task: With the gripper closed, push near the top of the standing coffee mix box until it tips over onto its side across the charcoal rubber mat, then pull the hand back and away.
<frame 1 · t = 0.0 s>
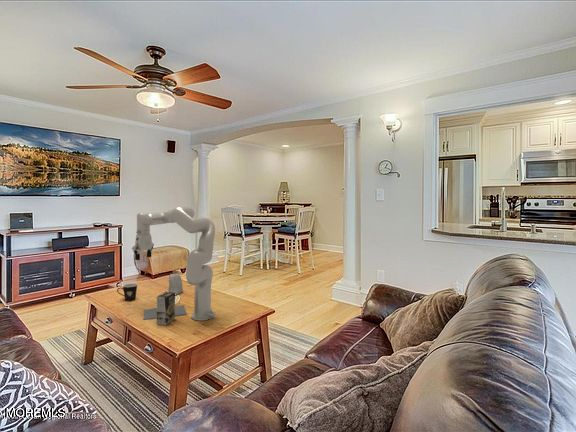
hand: (143, 258, 200), 31 cm above the table, tool pointing down, fingers open, 9 cm apart
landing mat: (164, 312, 193), on the table
coffee box: (166, 321, 180), on the table
decorative stone: (176, 294, 228), on the table
coffee mug: (128, 299, 213), on the table
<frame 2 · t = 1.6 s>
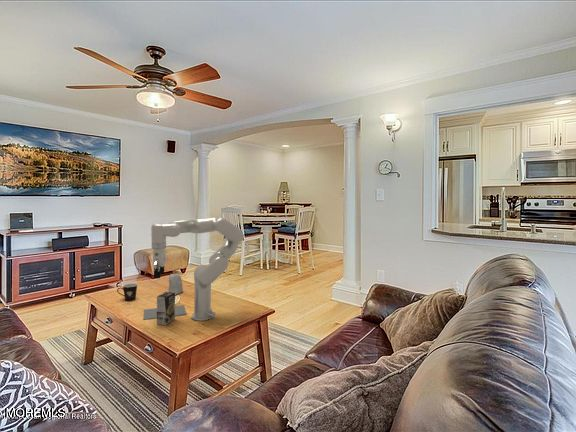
hand: (159, 275, 175), 28 cm above the table, tool pointing down, fingers open, 9 cm apart
nothing on the table moved.
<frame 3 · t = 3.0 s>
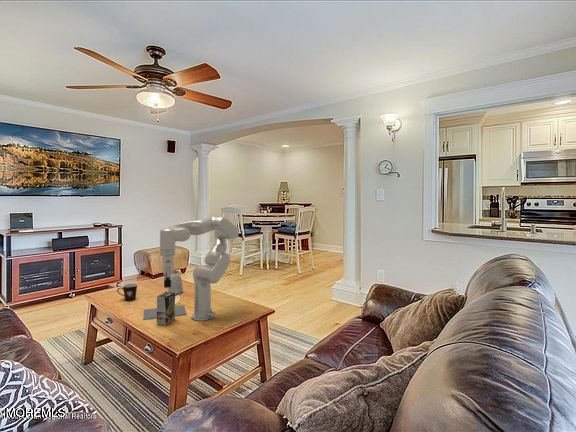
hand: (167, 286, 164), 25 cm above the table, tool pointing down, fingers closed
nothing on the table moved.
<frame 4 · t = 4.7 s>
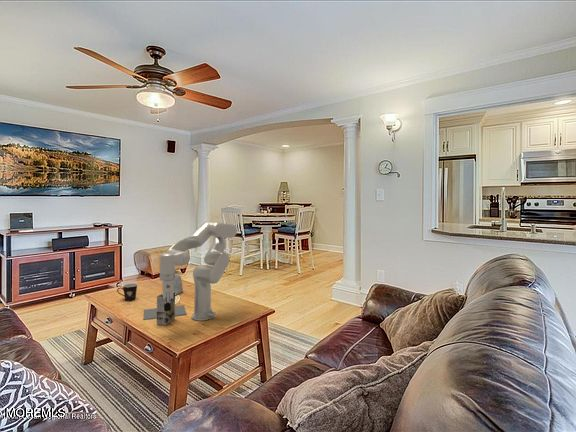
hand: (167, 310, 165), 12 cm above the table, tool pointing down, fingers closed
nothing on the table moved.
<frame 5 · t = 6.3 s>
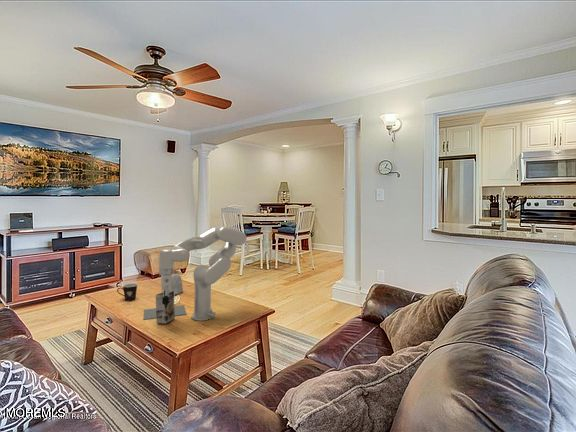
hand: (165, 303, 173), 13 cm above the table, tool pointing down, fingers closed
coffee box: (166, 321, 180), on the table, touching gripper
everything else where it was.
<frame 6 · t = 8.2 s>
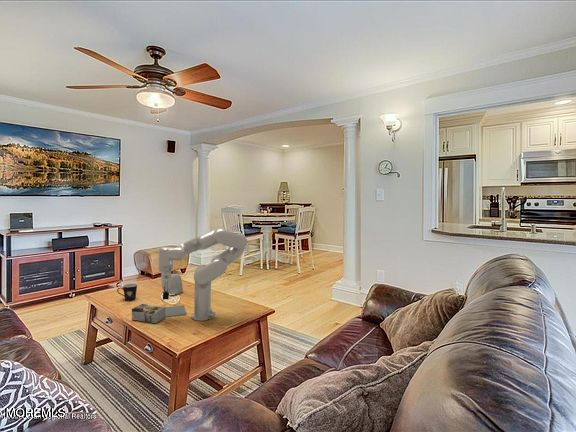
hand: (165, 298, 182), 12 cm above the table, tool pointing down, fingers closed
coffee box: (161, 315, 180), point 4 cm above the table, touching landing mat
everything else where it was.
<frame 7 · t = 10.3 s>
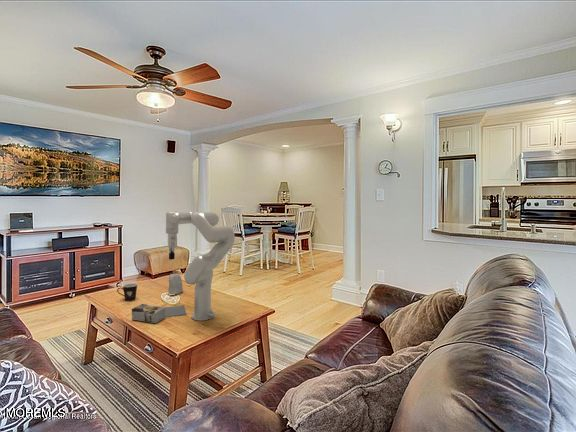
hand: (171, 259, 200), 32 cm above the table, tool pointing down, fingers closed
nothing on the table moved.
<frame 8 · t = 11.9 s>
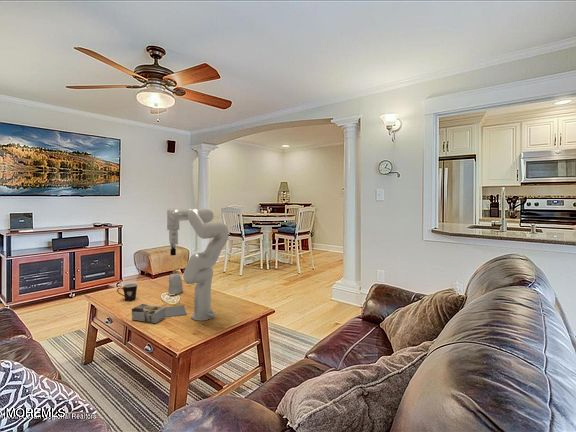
hand: (173, 255, 205), 33 cm above the table, tool pointing down, fingers closed
nothing on the table moved.
at the end: coffee box tilted 90°; coffee box touching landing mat; the gripper is holding nothing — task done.
